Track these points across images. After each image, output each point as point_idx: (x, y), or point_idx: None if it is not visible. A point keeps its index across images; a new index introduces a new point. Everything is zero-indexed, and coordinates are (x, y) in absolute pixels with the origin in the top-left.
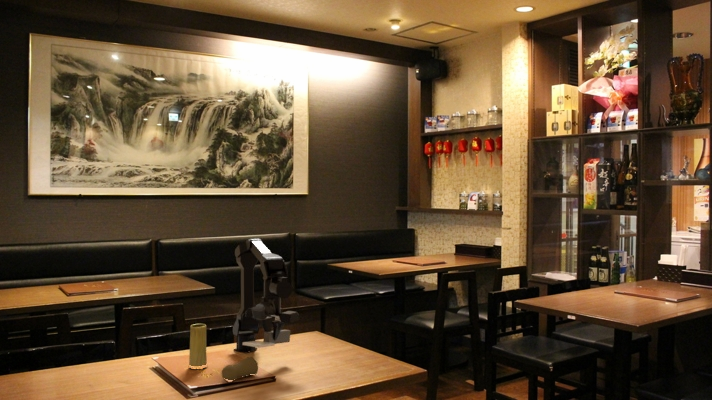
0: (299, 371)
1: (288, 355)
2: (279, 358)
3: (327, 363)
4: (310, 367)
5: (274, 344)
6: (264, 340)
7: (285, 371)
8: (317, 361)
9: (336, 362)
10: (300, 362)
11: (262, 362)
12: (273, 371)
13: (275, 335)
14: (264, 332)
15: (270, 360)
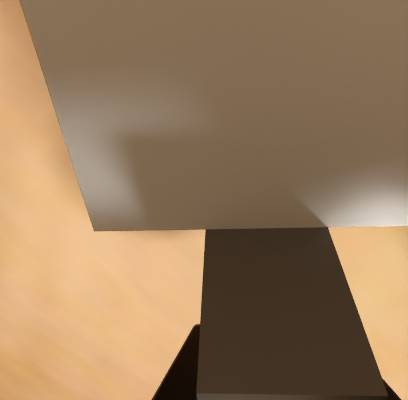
0: (34, 201)
1: None
2: None
3: (47, 365)
4: (53, 287)
5: (101, 219)
6: (307, 239)
7: None
8: (109, 368)
9: (30, 389)
10: (165, 325)
11: (371, 227)
12: None
13: (159, 391)
14: (369, 376)
15: None
